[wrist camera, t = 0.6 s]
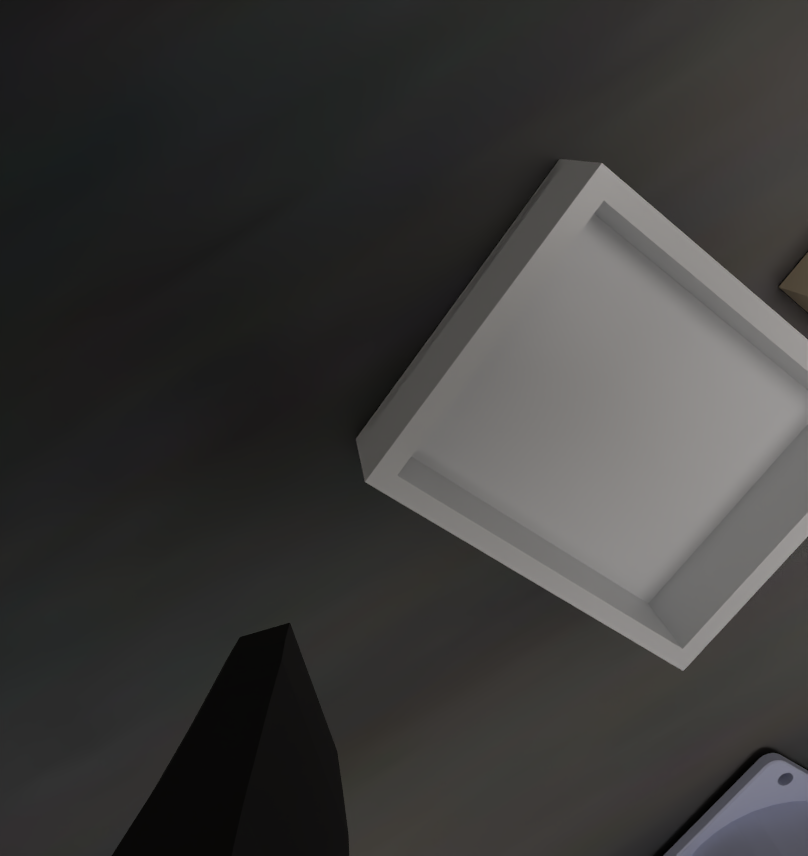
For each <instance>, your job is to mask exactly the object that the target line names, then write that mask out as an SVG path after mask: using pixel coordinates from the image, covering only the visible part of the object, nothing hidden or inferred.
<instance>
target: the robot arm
mask: <svg viewBox="0 0 808 856" xmlns="http://www.w3.org/2000/svg"><path fill="white" fill-rule="evenodd" d="M112 856H349V839H348V828H347V820H346V812H345V805H344V797H343V790H342V783H341V776H340V769H339V762H338V754H337V750H336V747H335V744H334V742H333V739H332V736H331V733H330V731H329V728H328V725H327V723H326V720H325V717H324V714H323V712H322V709H321V706H320V703H319V701H318V698H317V695H316V693H315V690H314V687H313V684H312V682H311V679H310V676H309V674H308V671H307V668H306V665H305V663H304V660H303V657H302V654H301V652H300V649H299V646H298V644H297V641H296V638H295V635H294V633H293V630H292V627H291V625H290V623H287V624H284V625H280V626H277V627H273V628H270V629H267V630H263V631H260V632H256V633H253V634H249V635H246V636H242V637H240V638H239V640H238V641H237V643H236V645H235V646H234V648H233V650H232V652H231V653H230V655H229V657H228V659H227V660H226V662H225V664H224V666H223V668H222V670H221V671H220V673H219V675H218V677H217V679H216V681H215V683H214V684H213V686H212V688H211V690H210V692H209V694H208V695H207V697H206V699H205V701H204V703H203V705H202V706H201V708H200V710H199V712H198V714H197V716H196V717H195V719H194V721H193V723H192V725H191V726H190V728H189V730H188V732H187V734H186V735H185V737H184V739H183V740H182V742H181V744H180V746H179V747H178V749H177V751H176V753H175V754H174V756H173V758H172V759H171V761H170V763H169V765H168V766H167V768H166V770H165V772H164V773H163V775H162V777H161V778H160V780H159V782H158V784H157V785H156V787H155V789H154V790H153V792H152V793H151V795H150V797H149V798H148V800H147V802H146V803H145V805H144V806H143V808H142V809H141V811H140V813H139V814H138V816H137V817H136V819H135V820H134V822H133V823H132V825H131V827H130V828H129V830H128V831H127V833H126V834H125V836H124V837H123V839H122V841H121V842H120V844H119V845H118V847H117V848H116V850H115V851H114V853H113V855H112ZM663 856H808V770H806V769H804V768H802V767H801V766H799V765H797V764H795V763H794V762H792V761H790V760H789V759H787V758H785V757H783V756H782V755H780V754H777V753H768V754H766V755H763V756H762V757H760V758H759V759H758V760H757V761H756V762H755V763H754V764H753V765H752V766H751V767H750V768H749V769H748V770H747V771H746V772H745V773H744V774H743V775H742V776H741V777H740V778H739V779H738V780H737V781H736V782H735V783H734V784H733V785H732V786H731V787H730V788H729V789H728V790H727V791H726V792H725V793H724V795H723V796H722V797H721V798H720V799H719V800H718V801H717V802H716V803H715V804H714V805H713V806H712V807H711V808H710V809H709V810H708V811H707V812H706V813H705V814H704V815H703V816H702V817H701V818H700V819H699V820H698V821H697V822H696V823H695V824H694V825H693V826H692V827H691V828H690V829H689V830H688V831H687V832H686V833H685V834H684V835H683V836H682V837H681V838H680V839H679V840H678V841H677V842H676V843H675V844H674V845H673V846H672V847H671V848H670V849H669V850H668V851H667V852H666V853H665V854H664V855H663Z"/></svg>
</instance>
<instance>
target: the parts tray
mask: <svg viewBox="0 0 808 856" xmlns="http://www.w3.org/2000/svg"><path fill="white" fill-rule="evenodd" d="M356 443H357V447H358V452H359V457H360V461H361V466H362V471H363V475H364V480H365V482H366V483H368V484H369V485H371V486H373V487H374V488H376V489H378V490H379V491H381V492H383V493H384V494H386V495H388V496H389V497H391V498H393V499H394V500H396V501H398V502H399V503H401V504H403V505H405V506H406V507H408V508H410V509H411V510H413V511H415V512H416V513H418V514H420V515H421V516H423V517H425V518H426V519H428V520H430V521H431V522H433V523H435V524H437V525H438V526H440V527H442V528H443V529H445V530H447V531H448V532H450V533H452V534H453V535H455V536H457V537H458V538H460V539H462V540H463V541H465V542H467V543H469V544H470V545H472V546H474V547H475V548H477V549H479V550H480V551H482V552H484V553H485V554H487V555H489V556H490V557H492V558H494V559H495V560H497V561H499V562H501V563H502V564H504V565H506V566H507V567H509V568H511V569H512V570H514V571H516V572H517V573H519V574H521V575H522V576H524V577H526V578H527V579H529V580H531V581H533V582H534V583H536V584H538V585H539V586H541V587H543V588H544V589H546V590H548V591H549V592H551V593H553V594H554V595H556V596H558V597H559V598H561V599H563V600H564V601H566V602H568V603H570V604H571V605H573V606H575V607H576V608H578V609H580V610H581V611H583V612H585V613H586V614H588V615H590V616H591V617H593V618H595V619H596V620H598V621H600V622H602V623H603V624H605V625H607V626H608V627H610V628H612V629H613V630H615V631H617V632H618V633H620V634H622V635H623V636H625V637H627V638H628V639H630V640H632V641H634V642H635V643H637V644H639V645H640V646H642V647H644V648H645V649H647V650H649V651H650V652H652V653H654V654H655V655H657V656H659V657H660V658H662V659H664V660H666V661H667V662H669V663H671V664H672V665H674V666H676V667H677V668H679V669H681V670H682V671H684V670H685V669H686V667H687V666H688V665H689V664H690V663H691V662H692V661H693V660H694V659H695V658H696V657H697V656H698V654H699V653H700V652H701V651H702V650H703V649H704V648H705V647H706V646H707V645H708V644H709V643H710V642H711V640H712V639H713V638H714V637H715V636H716V635H717V634H718V633H719V632H720V631H721V630H722V629H723V627H724V626H725V625H726V624H727V623H728V622H729V621H730V620H731V619H732V618H733V617H734V616H735V614H736V613H737V612H738V611H739V610H740V609H741V608H742V607H743V606H744V605H745V604H746V603H747V601H748V600H749V599H750V598H751V597H752V596H753V595H754V594H755V593H756V592H757V591H758V590H759V588H760V587H761V586H762V585H763V584H764V583H765V582H766V581H767V580H768V579H769V578H770V577H771V576H772V574H773V573H774V572H775V571H776V570H777V569H778V568H779V567H780V566H781V565H782V564H783V563H784V561H785V560H786V559H787V558H788V557H789V556H790V555H791V554H792V553H793V552H794V551H795V550H796V548H797V547H798V546H799V545H800V544H801V543H802V542H803V541H804V540H805V539H806V538H807V537H808V340H807V339H806V338H805V337H804V336H803V335H802V334H800V333H799V332H798V331H797V330H796V329H795V328H793V327H792V326H791V325H790V324H789V323H788V322H787V321H785V320H784V319H783V318H782V317H781V316H780V315H778V314H777V313H776V312H775V311H774V310H773V309H771V308H770V307H769V306H768V305H767V304H766V303H764V302H763V301H762V300H761V299H760V298H759V297H757V296H756V295H755V294H754V293H753V292H752V291H750V290H749V289H748V288H747V287H746V286H745V285H743V284H742V283H741V282H740V281H739V280H738V279H736V278H735V277H734V276H733V275H732V274H731V273H729V272H728V271H727V270H726V269H725V268H724V267H722V266H721V265H720V264H719V263H718V262H717V261H715V260H714V259H713V258H712V257H711V256H710V255H708V254H707V253H706V252H705V251H704V250H703V249H701V248H700V247H699V246H698V245H697V244H696V243H694V242H693V241H692V240H691V239H690V238H689V237H688V236H686V235H685V234H684V233H683V232H682V231H681V230H679V229H678V228H677V227H676V226H675V225H674V224H672V223H671V222H670V221H669V220H668V219H667V218H665V217H664V216H663V215H662V214H661V213H660V212H658V211H657V210H656V209H655V208H654V207H653V206H651V205H650V204H649V203H648V202H647V201H646V200H644V199H643V198H642V197H641V196H640V195H639V194H637V193H636V192H635V191H634V190H633V189H632V188H630V187H629V186H628V185H627V184H626V183H625V182H623V181H622V180H621V179H620V178H619V177H618V176H616V175H615V174H614V173H613V172H612V171H611V170H609V169H608V168H607V167H606V166H605V165H604V164H602V163H597V162H586V161H576V160H566V159H559V160H558V162H557V163H556V164H555V166H554V167H553V169H552V170H551V171H550V173H549V174H548V175H547V177H546V178H545V180H544V181H543V182H542V184H541V185H540V186H539V188H538V189H537V191H536V192H535V193H534V195H533V196H532V197H531V199H530V200H529V202H528V203H527V204H526V206H525V207H524V208H523V210H522V211H521V213H520V214H519V215H518V217H517V218H516V219H515V221H514V222H513V224H512V225H511V226H510V228H509V229H508V230H507V232H506V233H505V235H504V236H503V237H502V239H501V240H500V241H499V243H498V244H497V246H496V247H495V248H494V250H493V251H492V252H491V254H490V255H489V257H488V258H487V259H486V261H485V262H484V263H483V265H482V266H481V268H480V269H479V270H478V272H477V273H476V274H475V276H474V277H473V279H472V280H471V281H470V283H469V284H468V285H467V287H466V288H465V290H464V291H463V292H462V294H461V295H460V296H459V298H458V299H457V300H456V302H455V303H454V305H453V306H452V307H451V309H450V310H449V311H448V313H447V314H446V316H445V317H444V318H443V320H442V321H441V322H440V324H439V325H438V327H437V328H436V329H435V331H434V332H433V333H432V335H431V336H430V338H429V339H428V340H427V342H426V343H425V344H424V346H423V347H422V349H421V350H420V351H419V353H418V354H417V355H416V357H415V358H414V360H413V361H412V362H411V364H410V365H409V366H408V368H407V369H406V371H405V372H404V373H403V375H402V376H401V377H400V379H399V380H398V382H397V383H396V384H395V386H394V387H393V388H392V390H391V391H390V393H389V394H388V395H387V397H386V398H385V399H384V401H383V402H382V404H381V405H380V406H379V408H378V409H377V410H376V412H375V413H374V415H373V416H372V417H371V419H370V420H369V421H368V423H367V424H366V426H365V427H364V428H363V430H362V431H361V432H360V434H359V435H358V437H357V438H356Z"/></svg>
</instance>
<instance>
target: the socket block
mask: <svg viewBox="0 0 808 856" xmlns="http://www.w3.org/2000/svg"><path fill="white" fill-rule="evenodd" d="M779 288H780V289H782V290H783V291H784V292H785V293H786V294H787V295H788V296H789V297H791V298H792V299H793V300H794V301H795V302H796V303H797V304H799V305H800V306H801V307H802V308H803V309H804V310H805V311H807V312H808V253H807V254H806V255H805V256H804V257H803V259H802V260H801V261H800V262H799V263H798V264H797V266H796V267H795V268H794V269H793V270H792V272H791V273H790V274H789V275H788V276H787V278H786V279H785V280H784V281H783V282H782V284H781V285H780V286H779Z"/></svg>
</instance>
